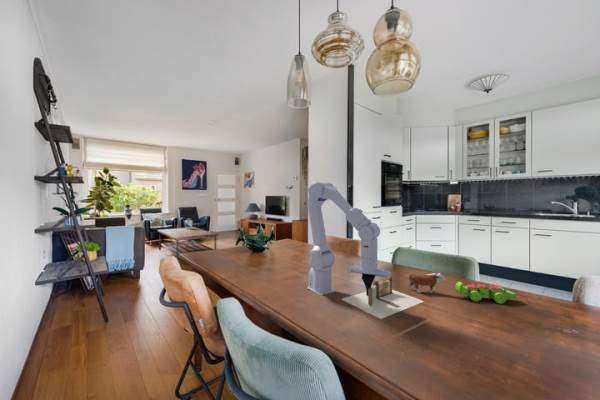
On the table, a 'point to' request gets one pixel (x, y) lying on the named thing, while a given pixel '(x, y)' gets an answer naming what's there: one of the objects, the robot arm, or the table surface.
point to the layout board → (383, 303)
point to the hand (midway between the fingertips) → (368, 295)
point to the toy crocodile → (484, 292)
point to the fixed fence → (383, 287)
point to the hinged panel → (371, 295)
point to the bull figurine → (425, 280)
